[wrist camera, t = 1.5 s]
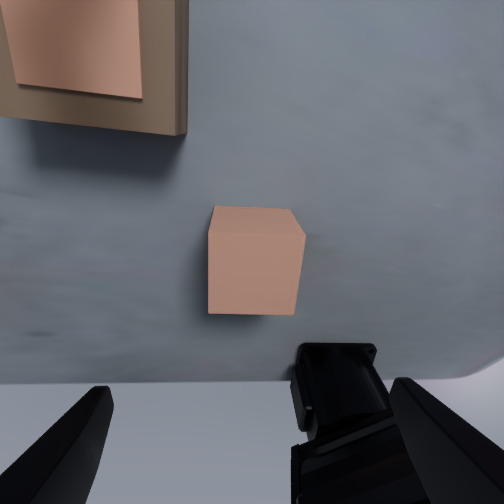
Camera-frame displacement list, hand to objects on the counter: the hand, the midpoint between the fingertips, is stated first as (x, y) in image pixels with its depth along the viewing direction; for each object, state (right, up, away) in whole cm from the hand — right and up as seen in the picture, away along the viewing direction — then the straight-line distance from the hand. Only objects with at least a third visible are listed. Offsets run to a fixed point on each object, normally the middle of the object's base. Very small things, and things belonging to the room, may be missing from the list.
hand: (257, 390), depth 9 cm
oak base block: (-8, +15, +6) cm, 18 cm away
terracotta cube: (0, +5, +11) cm, 12 cm away
